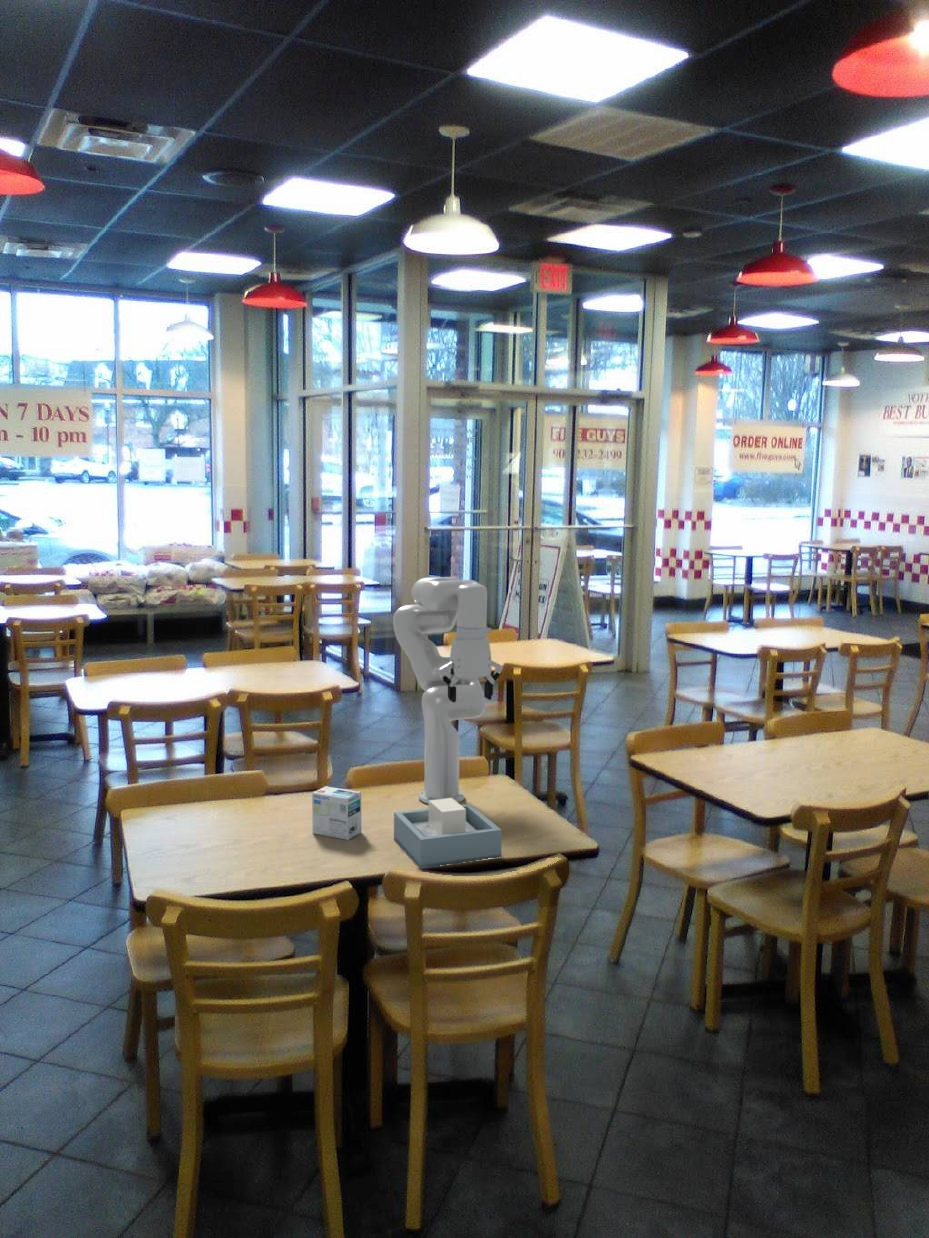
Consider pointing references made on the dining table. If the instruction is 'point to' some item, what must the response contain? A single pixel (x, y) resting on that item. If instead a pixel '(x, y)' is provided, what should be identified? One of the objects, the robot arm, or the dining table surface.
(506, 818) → the dining table surface
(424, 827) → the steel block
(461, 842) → the tray
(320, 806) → the light bulb box
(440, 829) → the white rectangular block
